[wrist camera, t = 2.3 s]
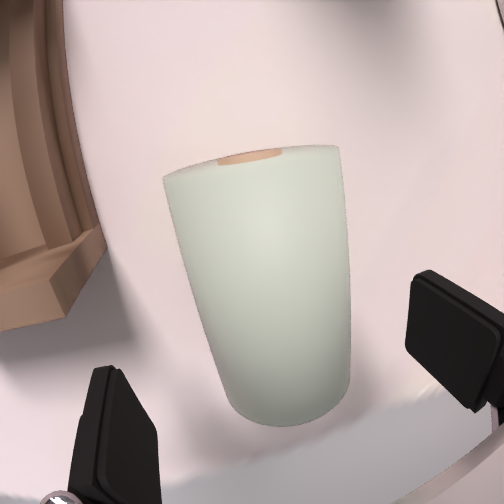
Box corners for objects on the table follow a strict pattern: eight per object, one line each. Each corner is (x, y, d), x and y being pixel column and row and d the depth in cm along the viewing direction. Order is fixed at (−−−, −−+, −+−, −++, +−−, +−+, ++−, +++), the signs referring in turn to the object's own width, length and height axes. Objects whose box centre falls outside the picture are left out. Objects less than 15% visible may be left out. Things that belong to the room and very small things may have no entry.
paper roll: (165, 167, 13) (153, 186, 7) (299, 140, 13) (375, 144, 8) (218, 357, 16) (238, 444, 11) (320, 328, 17) (372, 398, 12)
